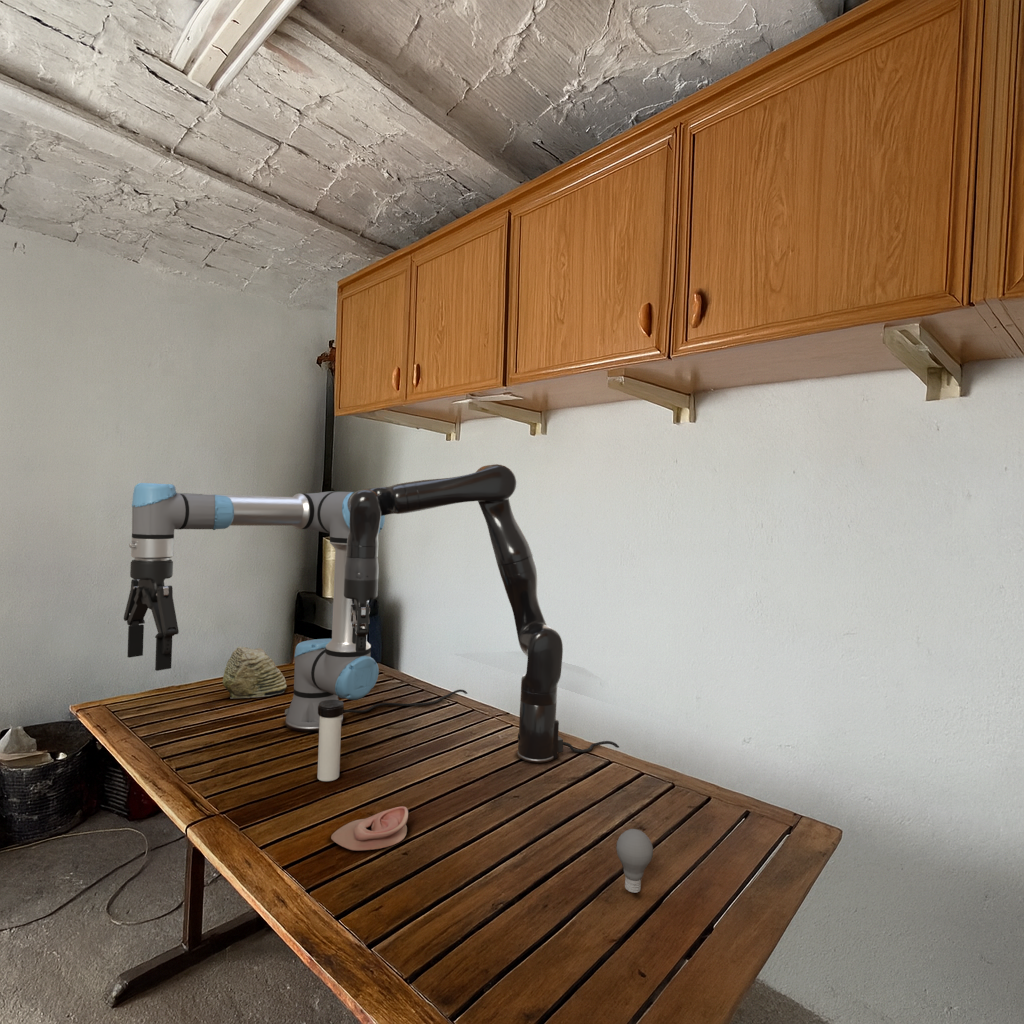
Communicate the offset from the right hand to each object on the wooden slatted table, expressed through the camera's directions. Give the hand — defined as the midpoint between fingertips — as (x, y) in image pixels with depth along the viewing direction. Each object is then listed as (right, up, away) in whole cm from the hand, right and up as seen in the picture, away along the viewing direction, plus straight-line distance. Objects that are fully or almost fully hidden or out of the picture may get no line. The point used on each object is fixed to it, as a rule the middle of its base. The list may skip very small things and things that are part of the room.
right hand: (358, 647), depth 145 cm
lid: (-6, -13, -1) cm, 14 cm away
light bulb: (+55, -32, -39) cm, 75 cm away
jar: (-7, -29, -1) cm, 30 cm away
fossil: (-46, -26, +53) cm, 75 cm away
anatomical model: (+8, -30, -25) cm, 40 cm away
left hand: (-39, 0, -15) cm, 42 cm away
